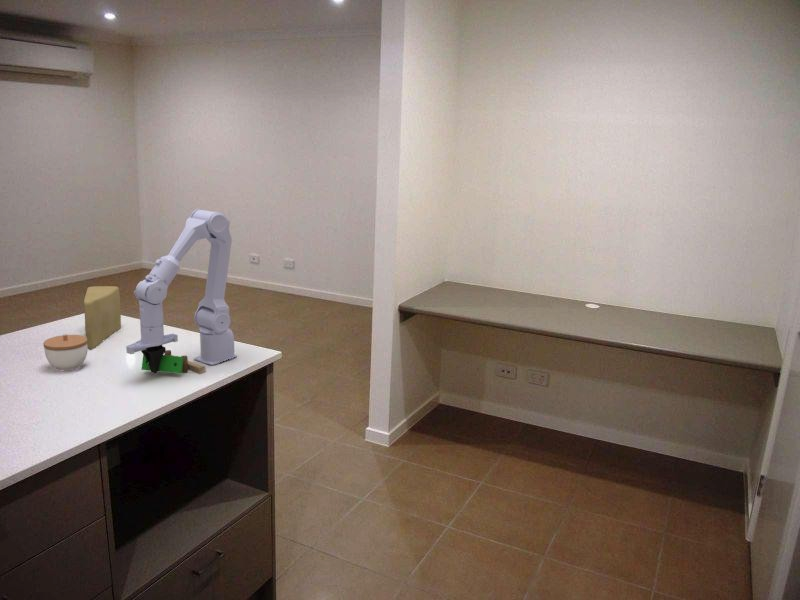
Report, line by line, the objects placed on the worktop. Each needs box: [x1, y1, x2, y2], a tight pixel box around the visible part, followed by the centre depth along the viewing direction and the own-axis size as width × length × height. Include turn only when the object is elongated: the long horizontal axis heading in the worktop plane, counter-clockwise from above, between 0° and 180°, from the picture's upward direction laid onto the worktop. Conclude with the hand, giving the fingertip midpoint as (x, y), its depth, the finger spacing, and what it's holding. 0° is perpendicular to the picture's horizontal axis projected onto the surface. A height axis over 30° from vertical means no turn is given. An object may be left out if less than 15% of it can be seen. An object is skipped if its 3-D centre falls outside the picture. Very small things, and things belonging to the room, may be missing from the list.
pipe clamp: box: [141, 354, 184, 374], centre depth 168 cm, size 11×4×5 cm, turn 83°
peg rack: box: [163, 349, 206, 375], centre depth 172 cm, size 4×16×4 cm, turn 58°
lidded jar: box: [42, 333, 89, 371], centre depth 168 cm, size 11×11×9 cm
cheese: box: [83, 285, 122, 350], centre depth 192 cm, size 22×10×15 cm, turn 13°
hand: (154, 372), depth 165 cm, fingers closed, pressing on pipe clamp
